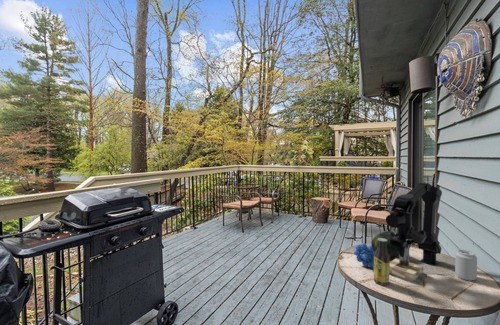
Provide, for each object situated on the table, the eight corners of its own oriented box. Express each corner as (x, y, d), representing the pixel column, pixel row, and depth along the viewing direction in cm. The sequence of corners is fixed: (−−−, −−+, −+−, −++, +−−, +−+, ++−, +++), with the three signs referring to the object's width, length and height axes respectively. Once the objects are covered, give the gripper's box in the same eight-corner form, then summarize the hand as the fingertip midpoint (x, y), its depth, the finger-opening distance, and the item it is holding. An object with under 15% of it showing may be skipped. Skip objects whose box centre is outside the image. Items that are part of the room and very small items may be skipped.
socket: (392, 264, 128) (392, 257, 128) (426, 276, 116) (426, 267, 116) (381, 272, 121) (381, 264, 121) (416, 284, 109) (416, 275, 109)
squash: (365, 239, 150) (374, 226, 140) (391, 240, 150) (401, 227, 139) (373, 262, 140) (382, 250, 130) (400, 263, 139) (412, 251, 129)
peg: (401, 261, 121) (401, 241, 121) (410, 264, 118) (410, 243, 118) (397, 263, 119) (397, 243, 118) (407, 266, 116) (407, 245, 115)
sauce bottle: (370, 279, 114) (370, 236, 114) (383, 278, 115) (383, 236, 114) (379, 287, 108) (379, 242, 107) (392, 286, 108) (393, 241, 108)
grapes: (352, 267, 127) (352, 244, 126) (354, 262, 132) (354, 239, 132) (378, 272, 120) (378, 248, 120) (379, 267, 126) (379, 243, 126)
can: (471, 274, 117) (472, 249, 116) (480, 282, 110) (480, 256, 109) (452, 272, 119) (452, 248, 119) (459, 280, 112) (460, 254, 112)
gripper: (415, 231, 106) (415, 267, 106) (431, 223, 117) (431, 256, 117) (388, 226, 114) (388, 259, 115) (405, 218, 126) (405, 249, 126)
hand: (404, 255), depth 118 cm, fingers closed on peg, 4 cm apart
